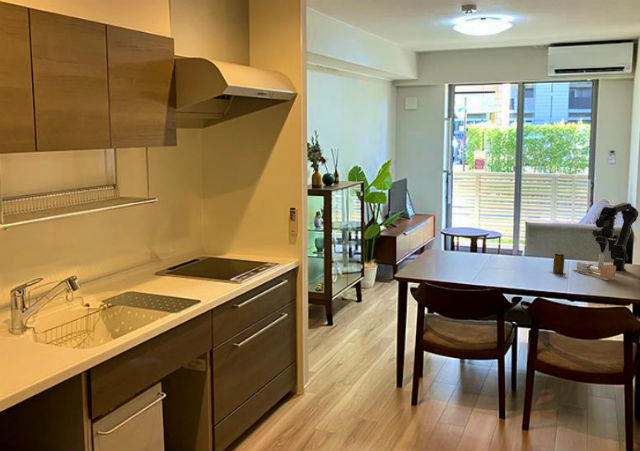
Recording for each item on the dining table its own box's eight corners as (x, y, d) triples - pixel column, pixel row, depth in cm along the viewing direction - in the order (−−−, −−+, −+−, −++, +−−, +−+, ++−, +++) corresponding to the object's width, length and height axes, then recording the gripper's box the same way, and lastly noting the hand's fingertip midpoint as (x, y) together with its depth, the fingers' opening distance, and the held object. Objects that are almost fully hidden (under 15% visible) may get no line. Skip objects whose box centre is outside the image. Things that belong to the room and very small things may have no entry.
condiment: (556, 271, 389) (557, 252, 387) (568, 273, 383) (570, 254, 381) (549, 272, 385) (551, 253, 383) (562, 275, 378) (564, 255, 376)
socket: (609, 275, 374) (610, 264, 373) (615, 277, 369) (616, 266, 368) (600, 276, 371) (601, 265, 370) (606, 278, 367) (607, 266, 366)
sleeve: (582, 269, 391) (583, 261, 390) (592, 271, 384) (593, 263, 383) (576, 269, 389) (577, 261, 388) (586, 272, 382) (587, 264, 381)
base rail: (581, 270, 393) (582, 268, 393) (614, 279, 370) (615, 277, 369) (573, 270, 390) (573, 269, 390) (605, 280, 367) (606, 278, 367)
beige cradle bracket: (590, 270, 384) (592, 251, 382) (610, 275, 370) (612, 256, 369) (586, 270, 383) (588, 251, 381) (606, 276, 369) (607, 256, 367)
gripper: (602, 223, 394) (600, 248, 397) (587, 226, 383) (585, 251, 385) (620, 226, 386) (618, 251, 388) (605, 228, 374) (603, 254, 377)
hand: (606, 251), depth 385 cm, fingers open, 9 cm apart
